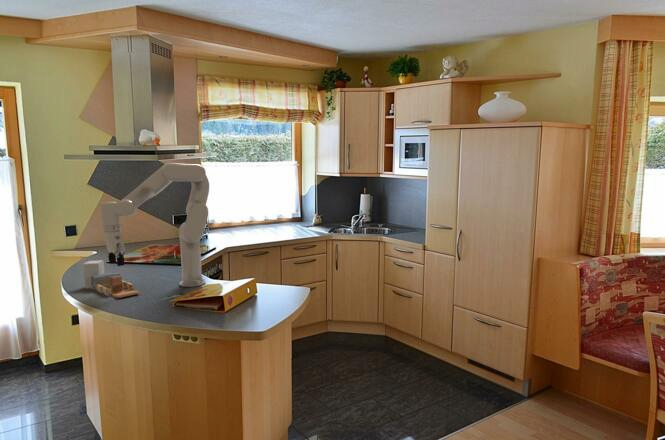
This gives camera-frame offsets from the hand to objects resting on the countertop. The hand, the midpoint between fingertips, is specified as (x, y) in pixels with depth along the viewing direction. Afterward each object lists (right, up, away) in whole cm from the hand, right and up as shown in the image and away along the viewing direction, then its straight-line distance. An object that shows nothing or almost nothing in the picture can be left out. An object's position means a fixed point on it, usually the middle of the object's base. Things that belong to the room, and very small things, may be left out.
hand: (117, 264), depth 236 cm
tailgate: (+4, -13, -3) cm, 14 cm away
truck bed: (-4, -14, +5) cm, 15 cm away
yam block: (-1, -13, +1) cm, 13 cm away
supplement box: (-17, -13, +15) cm, 26 cm away
